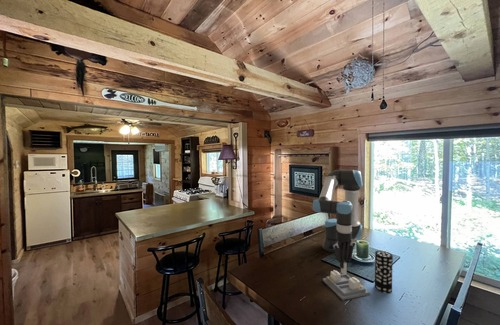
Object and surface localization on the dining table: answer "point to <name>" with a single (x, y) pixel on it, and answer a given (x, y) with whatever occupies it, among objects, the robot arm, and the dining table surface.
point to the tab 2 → (354, 283)
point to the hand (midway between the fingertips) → (343, 273)
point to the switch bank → (345, 288)
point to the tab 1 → (335, 276)
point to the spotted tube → (383, 271)
